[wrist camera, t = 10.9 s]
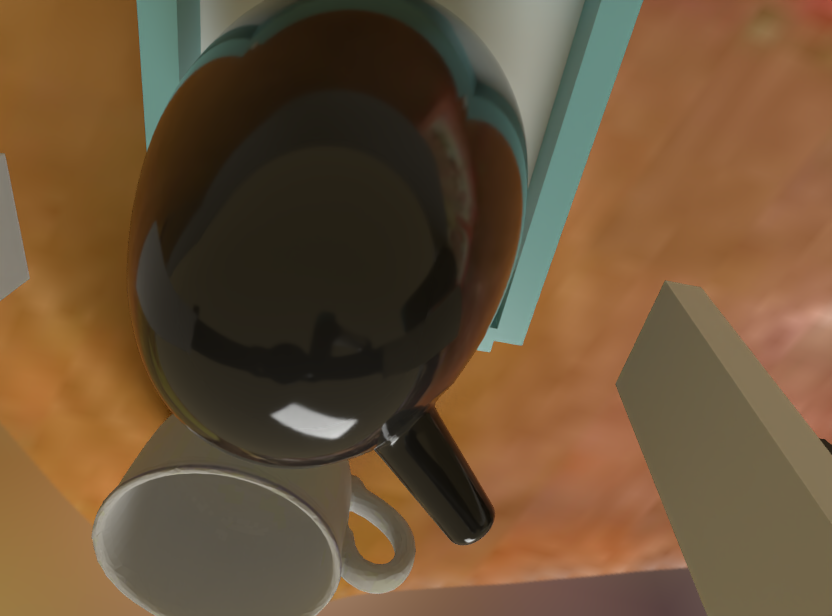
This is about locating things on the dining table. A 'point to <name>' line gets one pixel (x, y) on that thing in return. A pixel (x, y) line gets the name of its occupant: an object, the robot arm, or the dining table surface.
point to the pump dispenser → (331, 239)
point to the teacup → (239, 533)
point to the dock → (526, 72)
